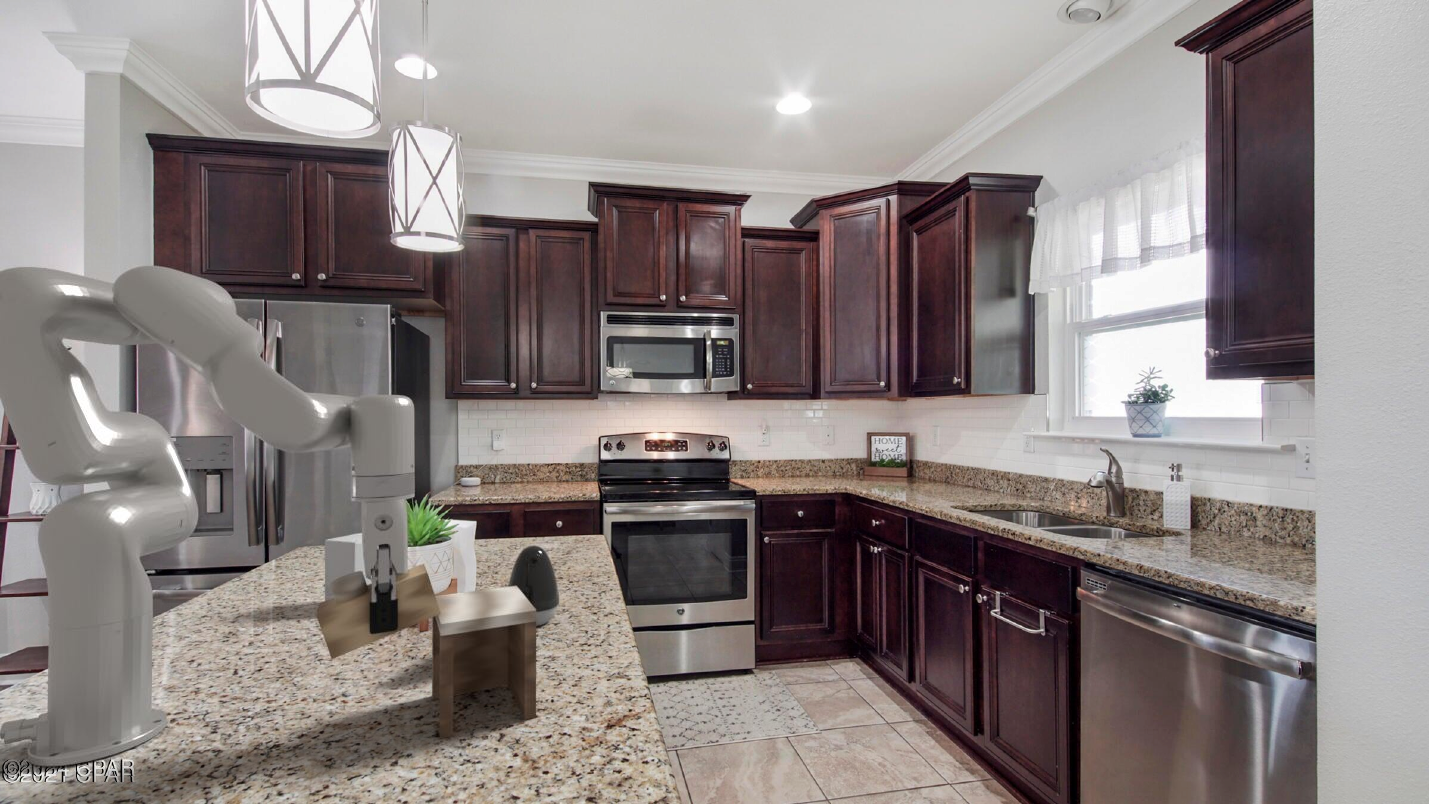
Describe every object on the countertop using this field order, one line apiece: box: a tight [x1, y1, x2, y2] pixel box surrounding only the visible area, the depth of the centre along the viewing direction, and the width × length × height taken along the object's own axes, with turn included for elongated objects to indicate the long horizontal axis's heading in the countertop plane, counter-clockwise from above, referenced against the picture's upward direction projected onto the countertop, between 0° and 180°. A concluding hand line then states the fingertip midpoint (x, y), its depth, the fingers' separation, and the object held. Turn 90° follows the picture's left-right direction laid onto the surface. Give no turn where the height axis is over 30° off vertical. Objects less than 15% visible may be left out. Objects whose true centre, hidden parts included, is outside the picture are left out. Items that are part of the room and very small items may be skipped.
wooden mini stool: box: [431, 586, 537, 740], centre depth 89 cm, size 12×14×14 cm
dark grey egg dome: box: [507, 545, 560, 627], centre depth 125 cm, size 10×10×15 cm
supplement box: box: [324, 532, 372, 601], centre depth 136 cm, size 9×9×15 cm
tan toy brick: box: [315, 563, 441, 660], centre depth 83 cm, size 13×6×8 cm, turn 119°
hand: (383, 623), depth 84 cm, fingers closed on tan toy brick, 5 cm apart
